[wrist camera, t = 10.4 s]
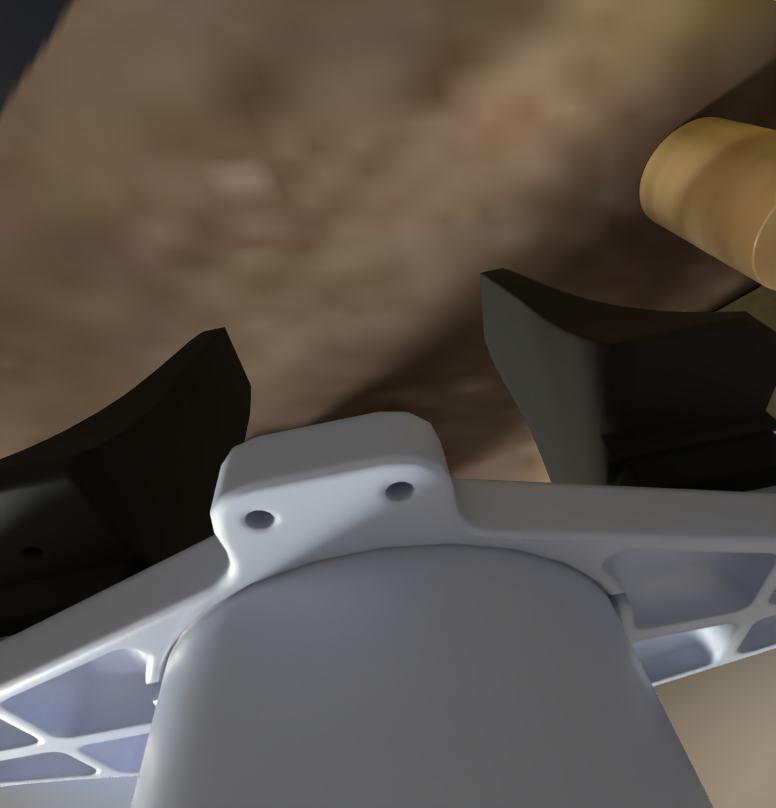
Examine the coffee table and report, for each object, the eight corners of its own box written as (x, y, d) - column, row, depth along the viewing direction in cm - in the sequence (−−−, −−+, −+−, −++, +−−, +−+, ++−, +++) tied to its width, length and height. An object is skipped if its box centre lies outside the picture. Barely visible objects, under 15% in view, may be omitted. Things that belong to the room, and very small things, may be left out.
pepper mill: (726, 214, 23) (888, 288, 17) (632, 234, 23) (755, 316, 17) (753, 105, 20) (964, 142, 14) (647, 129, 21) (803, 177, 14)
